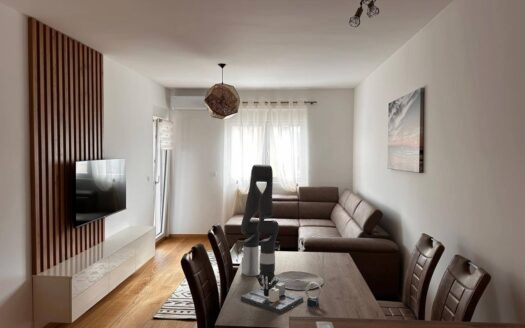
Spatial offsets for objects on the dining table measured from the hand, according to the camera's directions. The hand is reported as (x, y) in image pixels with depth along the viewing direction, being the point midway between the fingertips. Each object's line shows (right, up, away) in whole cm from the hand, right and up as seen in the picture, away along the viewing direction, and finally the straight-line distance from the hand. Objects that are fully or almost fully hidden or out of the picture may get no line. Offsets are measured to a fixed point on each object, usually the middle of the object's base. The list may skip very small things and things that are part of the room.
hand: (266, 296), depth 182 cm
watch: (+22, -4, -1) cm, 23 cm away
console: (+3, -3, +3) cm, 5 cm away
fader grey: (+7, -1, +5) cm, 9 cm away
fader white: (+3, -1, -2) cm, 4 cm away
